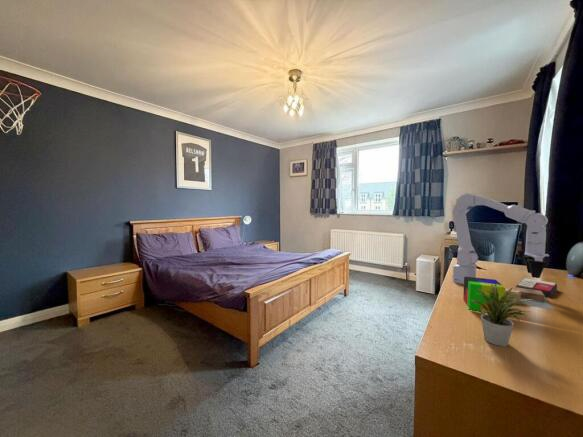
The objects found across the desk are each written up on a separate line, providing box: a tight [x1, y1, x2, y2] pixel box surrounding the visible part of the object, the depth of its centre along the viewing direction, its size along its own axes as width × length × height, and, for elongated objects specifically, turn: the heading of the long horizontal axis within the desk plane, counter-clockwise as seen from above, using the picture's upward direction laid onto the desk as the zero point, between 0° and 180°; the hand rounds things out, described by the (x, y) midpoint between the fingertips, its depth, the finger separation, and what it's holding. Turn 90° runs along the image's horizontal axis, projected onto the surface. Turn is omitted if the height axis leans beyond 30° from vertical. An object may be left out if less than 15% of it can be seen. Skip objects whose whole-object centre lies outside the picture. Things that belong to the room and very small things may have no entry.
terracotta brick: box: [505, 287, 521, 303], centre depth 97 cm, size 6×4×4 cm, turn 54°
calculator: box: [515, 277, 558, 299], centre depth 108 cm, size 11×4×15 cm
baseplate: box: [510, 297, 555, 311], centre depth 100 cm, size 20×16×1 cm
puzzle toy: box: [462, 276, 506, 313], centre depth 91 cm, size 10×10×10 cm
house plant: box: [472, 283, 534, 347], centre depth 67 cm, size 14×14×16 cm
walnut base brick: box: [514, 286, 546, 301], centre depth 100 cm, size 8×6×2 cm
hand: (533, 275), depth 100 cm, fingers open, 7 cm apart
